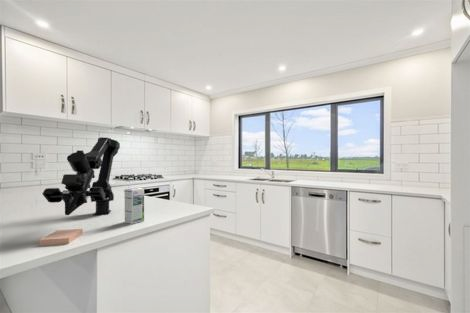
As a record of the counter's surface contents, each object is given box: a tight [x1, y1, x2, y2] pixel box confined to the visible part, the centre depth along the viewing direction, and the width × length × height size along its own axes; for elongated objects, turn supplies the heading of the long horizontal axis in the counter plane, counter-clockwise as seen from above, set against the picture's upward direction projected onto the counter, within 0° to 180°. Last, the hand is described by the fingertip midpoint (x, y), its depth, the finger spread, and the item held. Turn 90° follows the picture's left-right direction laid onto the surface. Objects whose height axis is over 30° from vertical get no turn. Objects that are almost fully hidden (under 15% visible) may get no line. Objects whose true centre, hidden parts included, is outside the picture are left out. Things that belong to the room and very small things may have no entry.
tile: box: [39, 228, 83, 247], centre depth 71 cm, size 2×8×9 cm
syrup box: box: [123, 186, 145, 225], centre depth 91 cm, size 6×6×14 cm
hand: (66, 214), depth 73 cm, fingers closed
